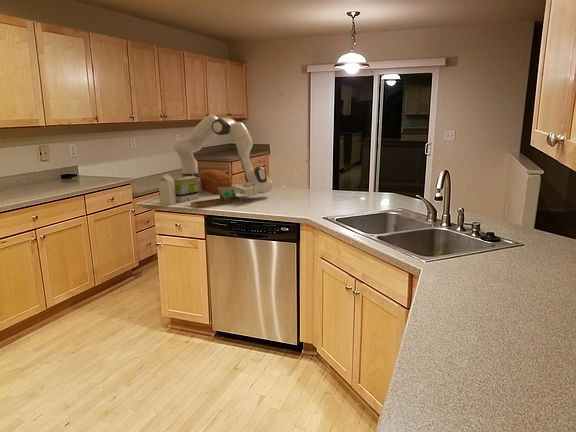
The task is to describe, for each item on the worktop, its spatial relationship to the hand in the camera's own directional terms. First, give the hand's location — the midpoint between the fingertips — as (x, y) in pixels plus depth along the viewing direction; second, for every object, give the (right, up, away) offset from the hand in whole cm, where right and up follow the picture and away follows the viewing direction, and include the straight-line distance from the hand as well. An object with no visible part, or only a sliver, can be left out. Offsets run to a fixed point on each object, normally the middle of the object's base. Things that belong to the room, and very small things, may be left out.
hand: (231, 190), depth 275 cm
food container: (-2, -7, +1) cm, 8 cm away
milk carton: (-40, -9, -2) cm, 41 cm away
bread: (-18, +2, +40) cm, 44 cm away
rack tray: (-8, -8, -3) cm, 12 cm away
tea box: (-31, -5, +10) cm, 33 cm away
